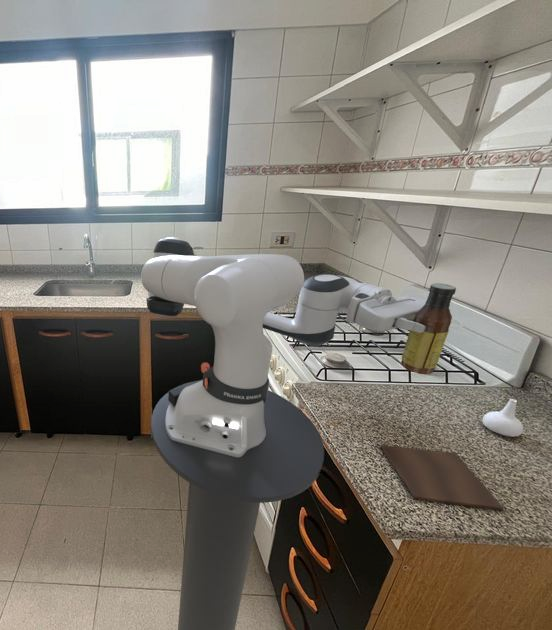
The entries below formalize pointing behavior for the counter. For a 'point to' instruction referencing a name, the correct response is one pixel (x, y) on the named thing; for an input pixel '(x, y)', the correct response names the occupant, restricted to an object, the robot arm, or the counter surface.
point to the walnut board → (439, 477)
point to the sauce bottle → (429, 331)
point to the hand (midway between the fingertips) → (436, 326)
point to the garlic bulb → (504, 421)
